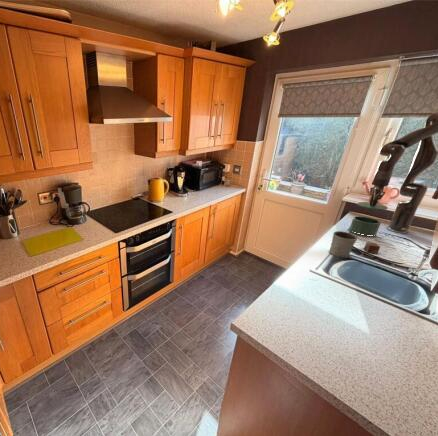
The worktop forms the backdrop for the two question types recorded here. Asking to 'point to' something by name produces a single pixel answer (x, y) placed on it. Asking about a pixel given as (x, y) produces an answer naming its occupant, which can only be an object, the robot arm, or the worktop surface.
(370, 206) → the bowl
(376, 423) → the worktop surface
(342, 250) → the grey cup
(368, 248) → the block
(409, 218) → the robot arm
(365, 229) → the tin
